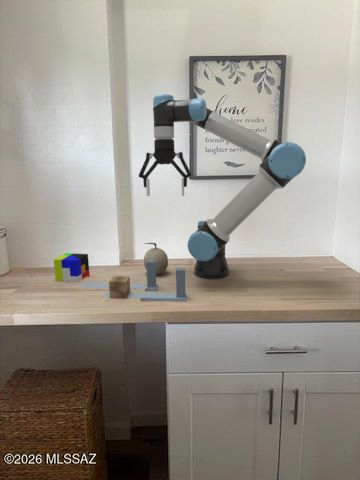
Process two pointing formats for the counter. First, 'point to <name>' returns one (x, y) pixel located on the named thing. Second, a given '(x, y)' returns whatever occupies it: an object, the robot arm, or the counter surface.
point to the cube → (119, 287)
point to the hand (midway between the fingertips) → (165, 195)
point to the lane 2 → (177, 296)
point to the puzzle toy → (71, 267)
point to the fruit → (157, 258)
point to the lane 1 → (149, 277)
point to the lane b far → (94, 285)
